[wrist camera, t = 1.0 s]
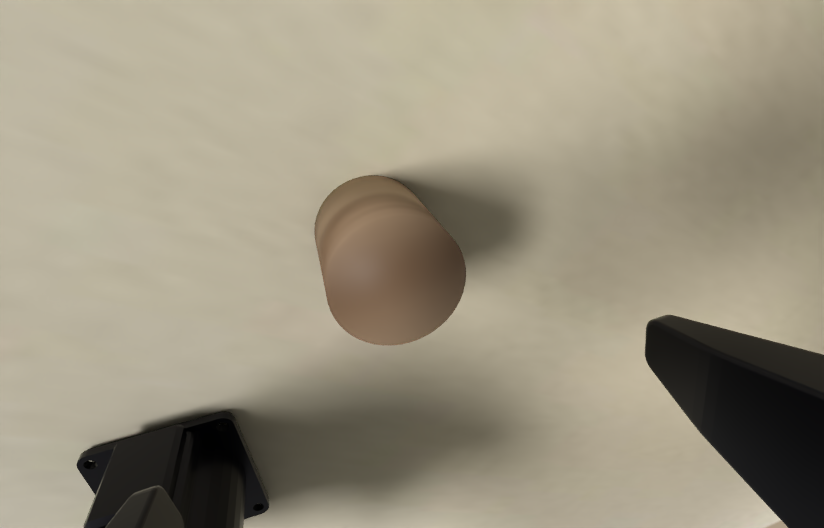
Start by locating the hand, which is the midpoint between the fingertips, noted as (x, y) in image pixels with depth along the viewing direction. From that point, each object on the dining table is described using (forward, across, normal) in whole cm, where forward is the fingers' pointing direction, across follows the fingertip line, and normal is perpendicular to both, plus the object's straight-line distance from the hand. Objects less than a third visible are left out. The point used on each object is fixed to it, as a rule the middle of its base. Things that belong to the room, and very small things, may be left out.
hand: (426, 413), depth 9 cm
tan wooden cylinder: (+12, -1, +1) cm, 12 cm away
